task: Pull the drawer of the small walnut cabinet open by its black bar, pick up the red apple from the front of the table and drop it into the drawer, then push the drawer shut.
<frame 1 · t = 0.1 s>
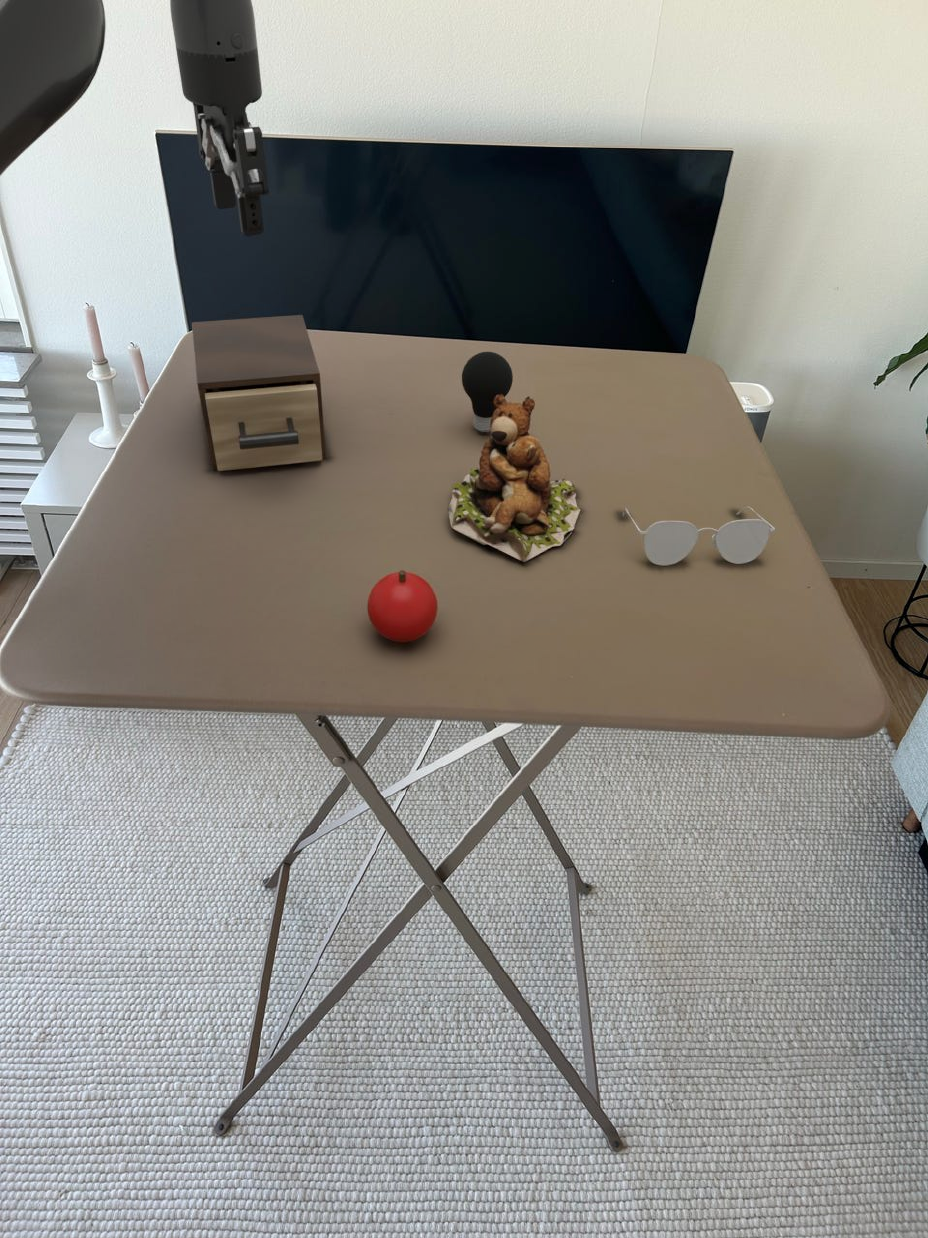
hand: (238, 220, 94), 22 cm above the table, tool pointing down, fingers open, 8 cm apart
drawer: (262, 409, 97), point 5 cm above the table, slide at 0.5 cm
cabinet: (263, 430, 104), on the table
sunglasses: (690, 540, 92), on the table
bear figurine: (511, 517, 94), on the table
light bulb: (483, 433, 106), on the table
apple: (402, 632, 80), on the table
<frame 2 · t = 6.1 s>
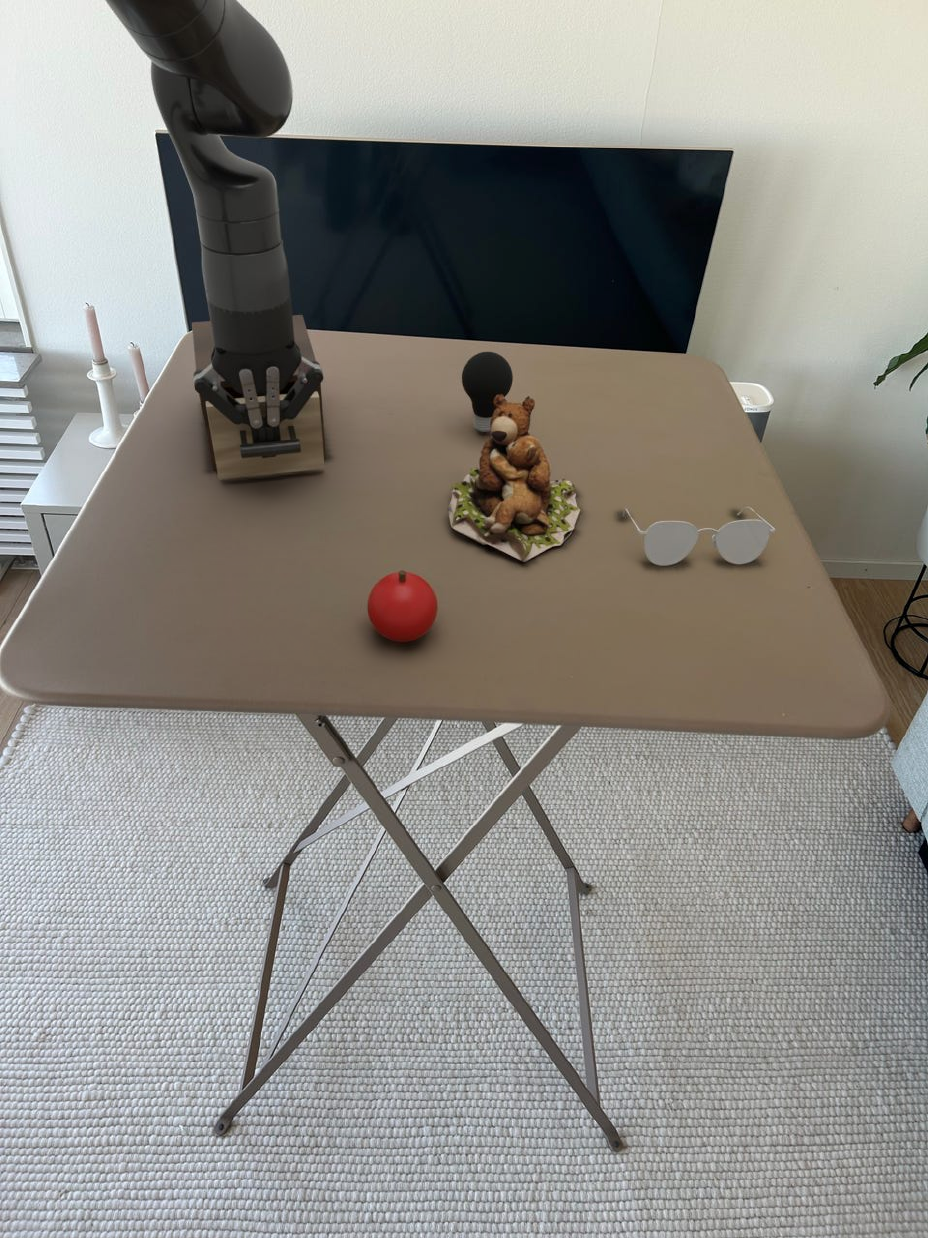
hand: (268, 453, 92), 5 cm above the table, tool pointing down, fingers closed
drawer: (263, 417, 96), point 5 cm above the table, slide at 2.2 cm, touching gripper
everything else where it was.
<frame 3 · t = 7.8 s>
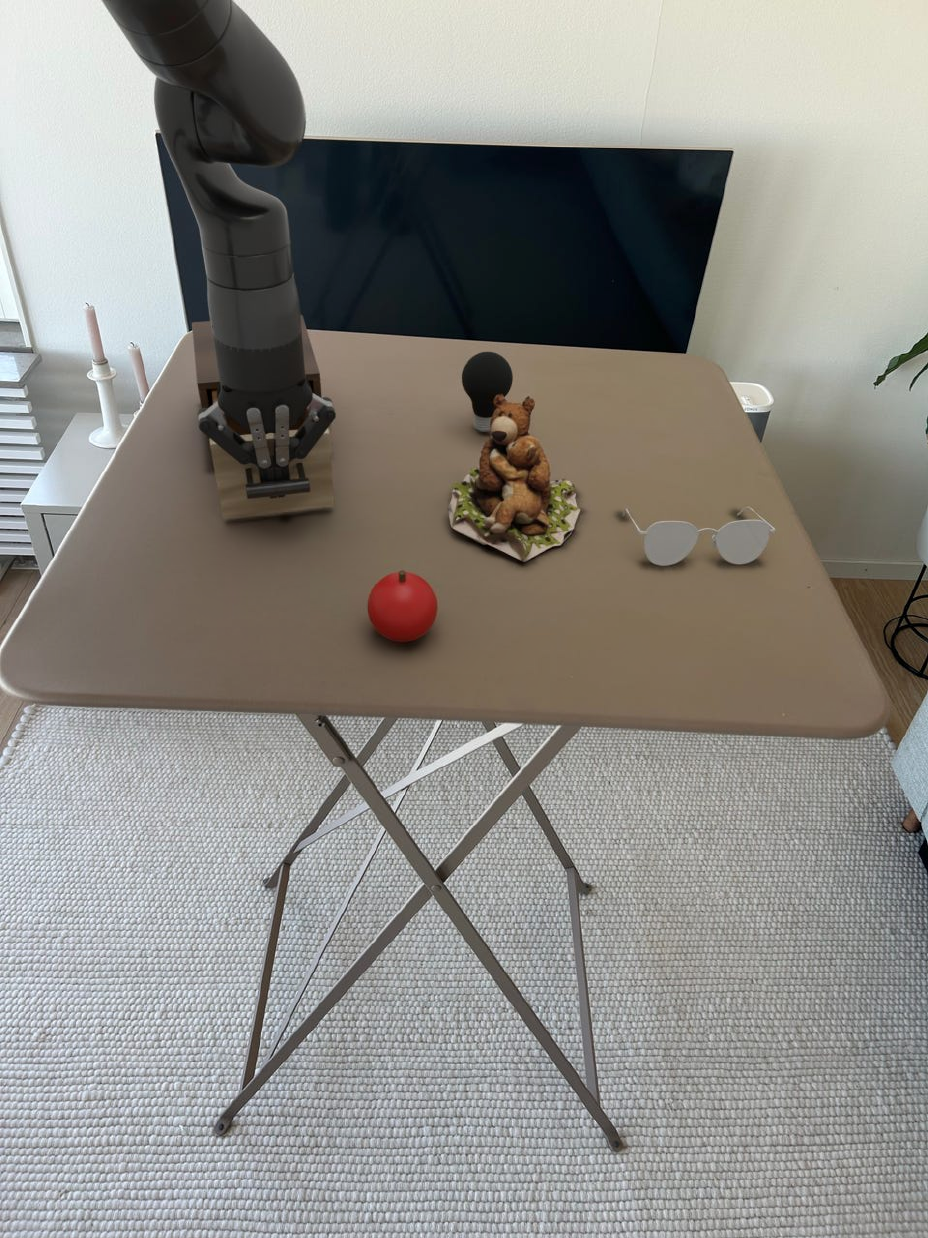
hand: (276, 493, 87), 5 cm above the table, tool pointing down, fingers closed
drawer: (270, 452, 91), point 5 cm above the table, slide at 9.4 cm, touching gripper
everything else where it was.
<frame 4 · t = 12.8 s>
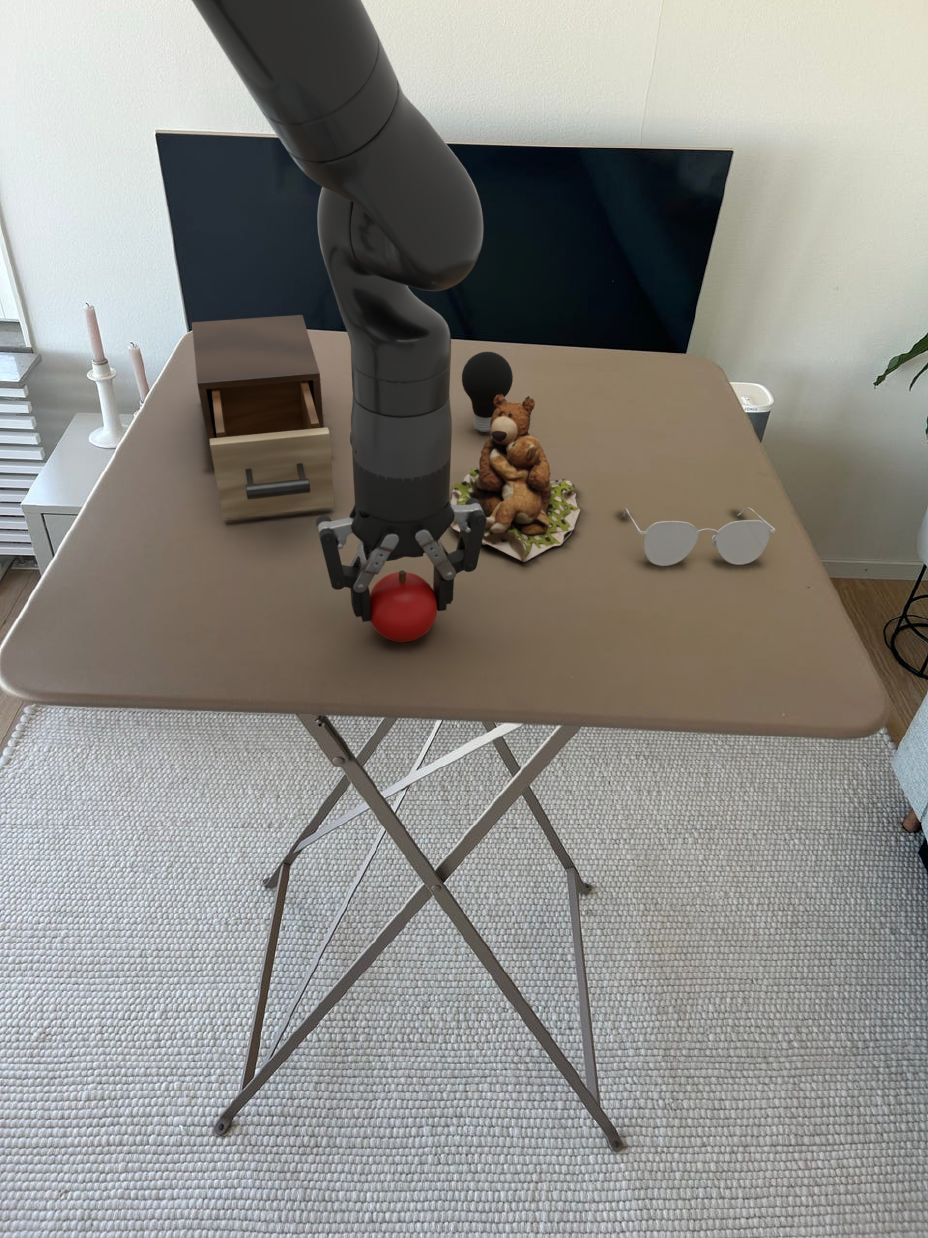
hand: (402, 609, 78), 3 cm above the table, tool pointing down, fingers closed on apple, 6 cm apart
drawer: (270, 452, 91), point 5 cm above the table, slide at 9.5 cm
apple: (402, 632, 80), on the table, touching gripper
everything else where it was.
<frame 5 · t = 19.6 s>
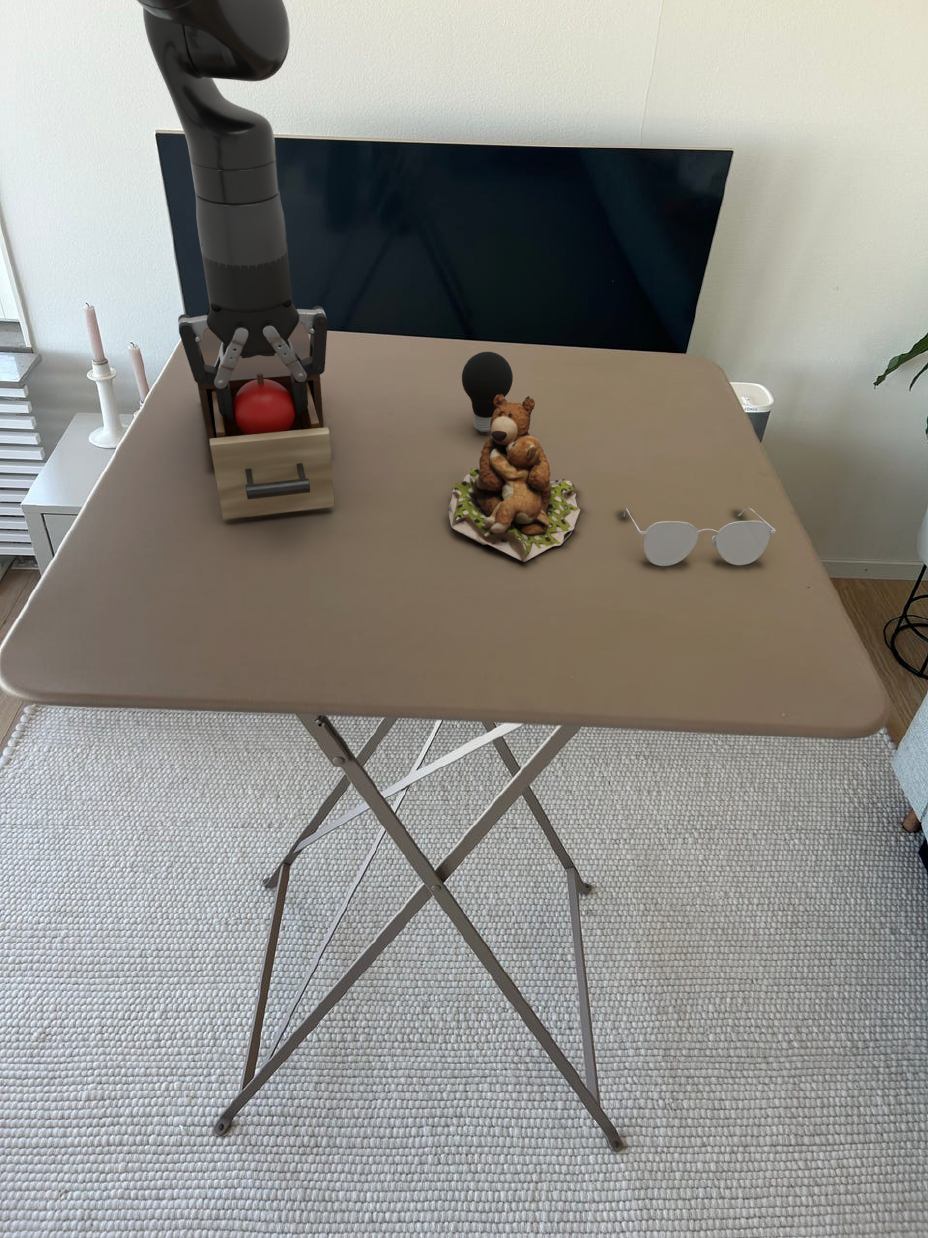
hand: (264, 413, 89), 9 cm above the table, tool pointing down, fingers closed on apple, 6 cm apart
apple: (267, 437, 91), point 6 cm above the table, touching gripper
everything else where it was.
when the fingers open (11 cm above the table, at t = 36.2 s): apple drops 7 cm, resting on drawer.
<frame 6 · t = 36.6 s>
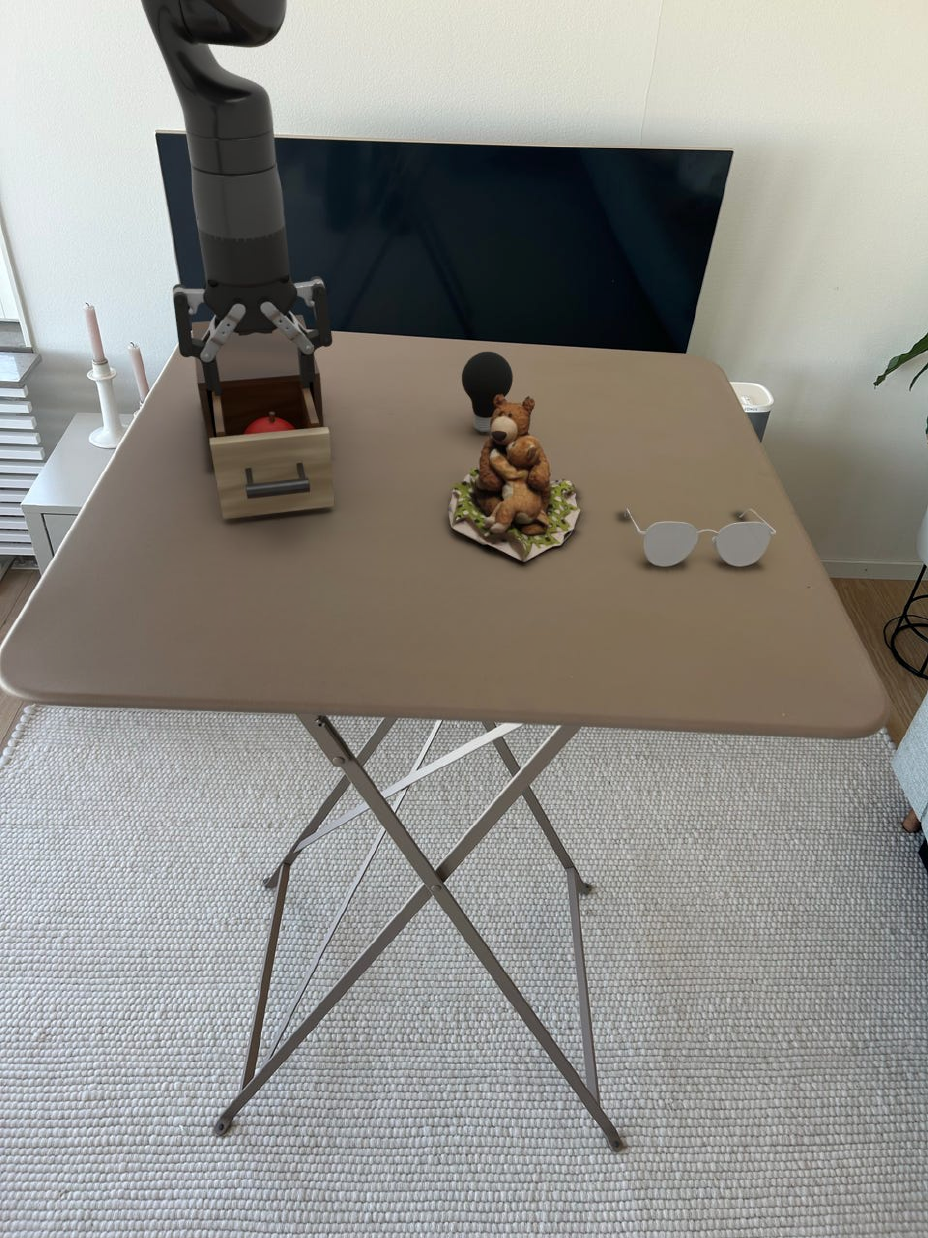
hand: (262, 388, 88), 12 cm above the table, tool pointing down, fingers open, 8 cm apart
drawer: (270, 452, 91), point 5 cm above the table, slide at 9.4 cm, touching apple
apple: (271, 472, 94), point 2 cm above the table, tilted 6°, touching drawer
everything else where it was.
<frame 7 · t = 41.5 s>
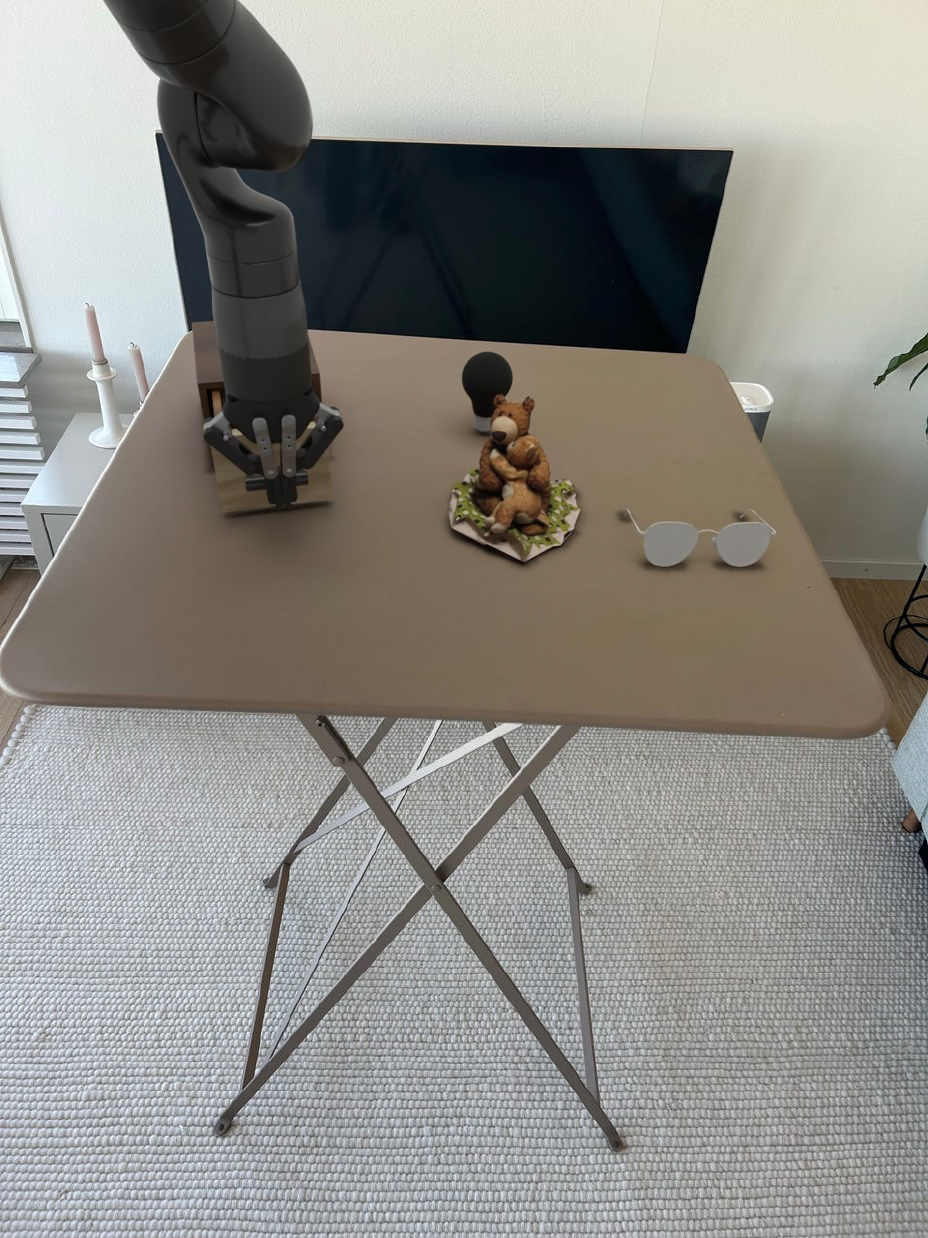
hand: (283, 503, 85), 5 cm above the table, tool pointing down, fingers closed
drawer: (269, 445, 92), point 5 cm above the table, slide at 8.1 cm, touching apple
apple: (270, 464, 95), point 2 cm above the table, tilted 24°, touching drawer
everything else where it was.
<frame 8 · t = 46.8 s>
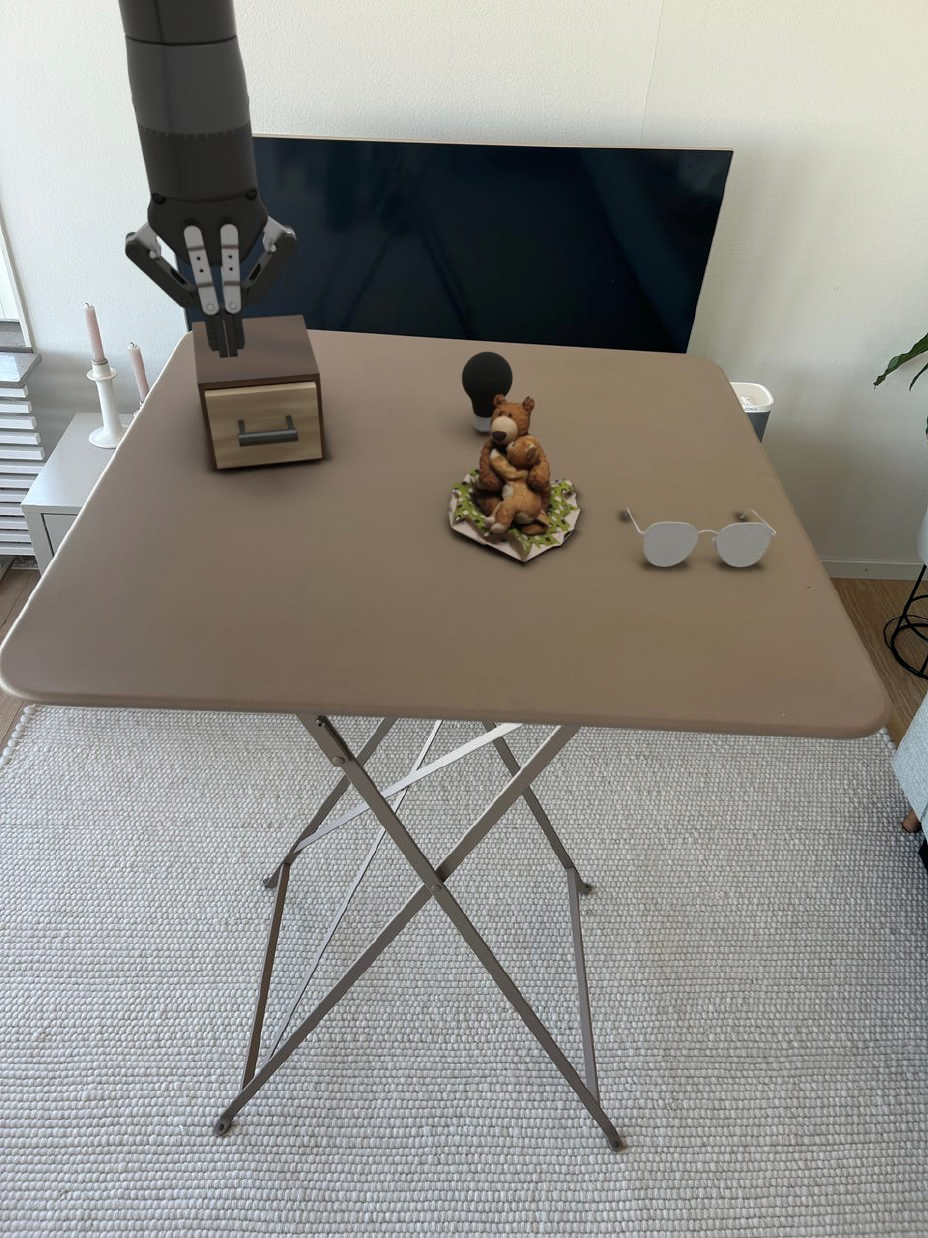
hand: (228, 352, 71), 22 cm above the table, tool pointing down, fingers closed
drawer: (262, 407, 98), point 5 cm above the table, slide at 0.0 cm, touching apple
apple: (262, 423, 101), point 3 cm above the table, tilted 33°, touching drawer
everything else where it was.
at the end: drawer pulled out 9.5 cm at the most during the clip, back to where it started at the end; apple inside the target area in the cabinet (2.5 cm from its centre), point 2.6 cm above the cabinet's base; drawer slide at 0.0 cm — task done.
